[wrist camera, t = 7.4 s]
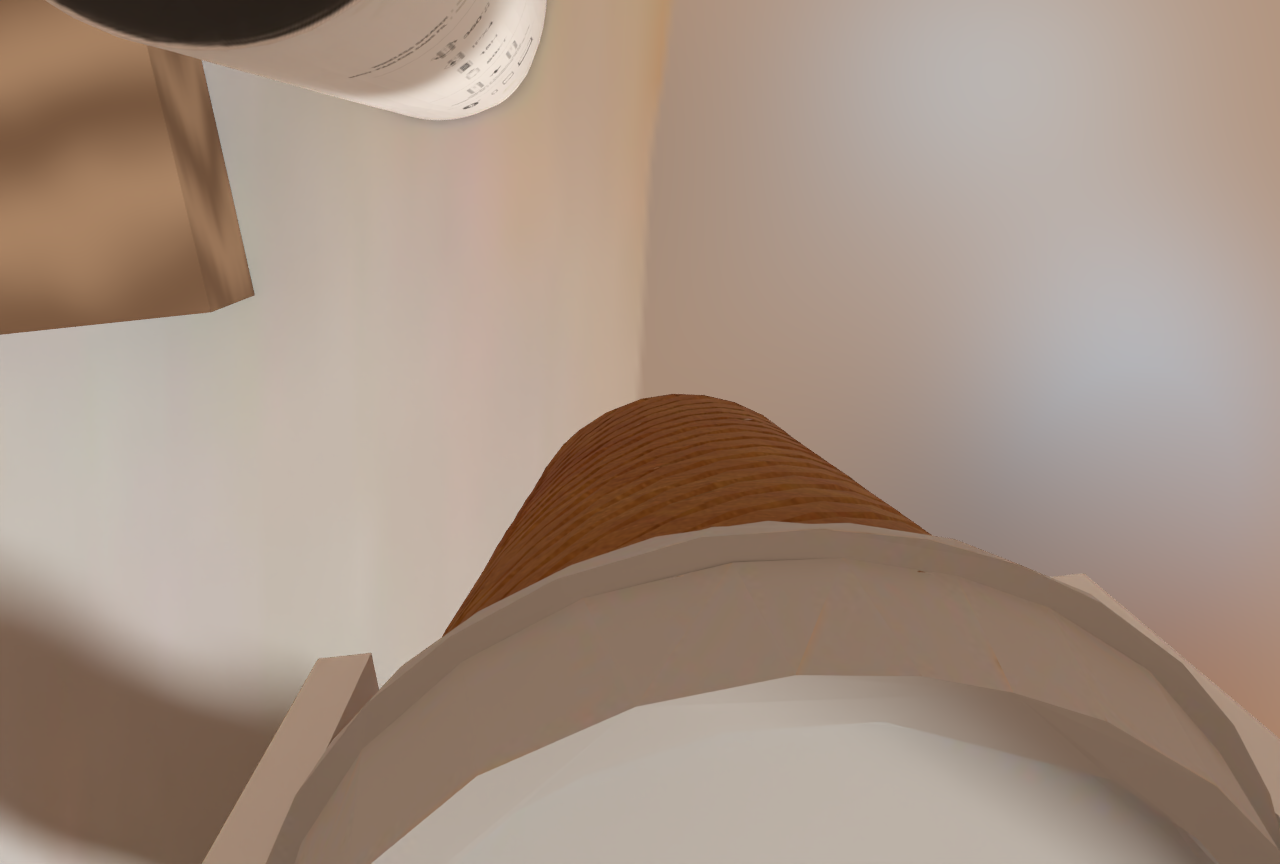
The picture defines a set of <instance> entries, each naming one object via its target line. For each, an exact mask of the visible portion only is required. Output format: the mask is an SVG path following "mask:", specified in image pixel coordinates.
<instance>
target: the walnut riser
mask: <svg viewBox="0 0 1280 864" xmlns="http://www.w3.org/2000/svg"><path fill="white" fill-rule="evenodd" d="M251 296H254V290H253V286H252V282H251V277H250V273H249V268H248V264H247V259H246V255H245V251H244V246H243V242H242V237H241V233H240V229H239V224H238V220H237V215H236V211H235V206H234V202H233V198H232V193H231V189H230V184H229V180H228V175H227V171H226V167H225V162H224V158H223V153H222V149H221V145H220V140H219V136H218V131H217V127H216V122H215V118H214V114H213V109H212V105H211V100H210V96H209V92H208V87H207V83H206V78H205V74H204V69H203V65H202V61H201V59H197V58H193V57H190V56H186V55H183V54H179V53H176V52H172V51H168V50H164V49H161V48H157V47H153V46H149V45H145V44H141V43H137V42H133V41H129V40H126V39H122V38H119V37H116V36H113V35H111V34H109V33H107V32H105V31H102V30H100V29H98V28H95V27H93V26H91V25H88V24H86V23H84V22H81V21H79V20H77V19H74V18H72V17H71V16H69V15H67V14H66V13H64V12H63V11H61V10H59V9H58V8H56V7H54V6H53V5H51V4H50V3H48V2H47V1H45V0H0V335H1V334H10V333H19V332H29V331H38V330H48V329H57V328H66V327H76V326H85V325H94V324H104V323H113V322H123V321H132V320H141V319H151V318H160V317H170V316H179V315H188V314H198V313H207V312H213V311H215V310H218V309H220V308H223V307H225V306H228V305H231V304H233V303H236V302H238V301H241V300H243V299H246V298H248V297H251Z"/></svg>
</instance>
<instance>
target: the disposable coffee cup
mask: <svg viewBox="0 0 1280 864" xmlns="http://www.w3.org/2000/svg"><path fill="white" fill-rule="evenodd" d="M266 864H1280V831H1279V827H1278V823H1277V819H1276V815H1275V811H1274V807H1273V803H1272V800H1271V796H1270V793H1269V791H1268V789H1267V787H1266V785H1265V783H1264V782H1263V780H1262V778H1261V776H1260V774H1259V772H1258V770H1257V768H1256V766H1255V764H1254V762H1253V760H1252V759H1251V757H1250V755H1249V753H1248V751H1247V749H1246V747H1245V745H1244V743H1243V741H1242V739H1241V737H1240V736H1239V734H1238V732H1237V730H1236V728H1235V726H1234V724H1233V723H1232V722H1231V721H1230V720H1229V718H1228V717H1227V716H1226V715H1225V714H1224V712H1223V711H1222V710H1221V709H1220V708H1219V706H1218V705H1217V704H1216V703H1215V702H1214V700H1213V699H1212V698H1211V697H1210V696H1209V694H1208V693H1207V692H1206V691H1205V690H1204V688H1203V687H1202V686H1201V685H1200V684H1199V682H1198V681H1197V680H1196V679H1195V678H1194V676H1193V675H1192V674H1191V673H1190V672H1189V670H1188V669H1187V668H1186V667H1185V666H1184V664H1183V663H1181V662H1180V661H1179V660H1177V659H1176V658H1175V657H1173V656H1172V655H1171V654H1169V653H1168V652H1167V651H1166V650H1164V649H1163V648H1162V647H1160V646H1159V645H1158V644H1156V643H1155V642H1154V641H1152V640H1151V639H1150V638H1148V637H1147V636H1146V635H1144V634H1143V633H1142V632H1140V631H1139V630H1138V629H1136V628H1135V627H1134V626H1132V625H1131V624H1130V623H1128V622H1127V621H1126V620H1124V619H1123V618H1122V617H1120V616H1119V615H1118V614H1116V613H1115V612H1114V611H1112V610H1111V609H1110V608H1108V607H1107V606H1106V605H1104V604H1103V603H1102V602H1101V601H1099V600H1098V599H1097V598H1095V597H1094V596H1093V595H1091V594H1090V593H1087V592H1085V591H1082V590H1080V589H1078V588H1075V587H1073V586H1070V585H1068V584H1065V583H1063V582H1061V581H1058V580H1056V579H1053V578H1051V577H1048V576H1046V575H1043V574H1041V573H1039V572H1036V571H1033V570H1031V569H1029V568H1027V567H1024V566H1022V565H1019V564H1017V563H1014V562H1012V561H1009V560H1006V559H1004V558H1001V557H999V556H996V555H994V554H991V553H989V552H986V551H984V550H981V549H979V548H976V547H973V546H971V545H968V544H966V543H963V542H961V541H958V540H956V539H951V538H944V537H937V536H932V535H931V534H929V533H928V532H926V531H925V530H924V529H922V528H921V527H920V526H918V525H917V524H915V523H914V522H912V521H911V520H910V519H908V518H907V517H905V516H903V515H902V514H901V513H900V512H898V511H897V510H896V509H894V508H893V507H891V506H890V505H888V504H887V503H885V502H884V501H882V500H881V499H879V498H878V497H876V496H875V495H874V494H872V493H870V492H869V491H868V490H866V489H865V488H863V487H862V486H861V485H859V484H858V483H857V482H855V481H854V480H853V479H852V478H850V477H849V476H847V475H846V474H845V473H843V472H841V471H840V470H839V469H837V468H836V467H834V466H833V465H831V464H829V463H828V462H827V461H825V460H824V459H822V458H821V457H820V456H818V455H817V454H815V453H814V452H812V451H811V450H809V449H808V448H806V447H805V446H804V445H802V444H801V443H800V442H798V441H797V440H795V439H794V438H792V437H791V436H790V435H788V434H787V433H786V432H785V431H784V430H782V429H781V428H779V427H778V426H777V425H775V424H774V423H773V422H771V421H769V419H767V418H766V417H764V416H763V415H761V414H759V413H757V412H755V411H753V410H750V409H748V408H746V407H744V406H741V405H739V404H737V403H735V402H731V401H727V400H723V399H718V398H714V397H709V396H705V395H685V394H670V395H663V396H657V397H651V398H644V399H640V400H637V401H635V402H632V403H630V404H627V405H625V406H622V407H619V408H617V409H614V410H612V411H609V412H607V413H605V414H604V415H602V416H600V417H599V418H597V419H596V420H594V421H593V422H591V423H590V424H588V425H587V426H585V427H583V428H582V429H580V430H579V431H578V432H577V433H576V434H575V435H573V436H572V437H571V438H570V439H569V440H568V441H567V442H566V443H565V444H564V445H563V446H562V447H561V449H560V450H559V451H558V452H557V454H556V455H555V456H554V458H553V459H552V460H551V462H550V463H549V464H548V466H547V467H546V468H545V470H544V472H543V474H542V476H541V478H540V479H539V481H538V482H537V484H536V486H535V488H534V489H533V491H532V492H531V494H530V495H529V497H528V498H527V499H526V501H525V503H524V504H523V506H522V508H521V509H520V511H519V512H518V514H517V516H516V518H515V519H514V521H513V523H512V524H511V526H510V527H509V528H508V530H507V531H506V533H505V535H504V536H503V538H502V540H501V541H500V543H499V544H498V546H497V547H496V549H495V551H494V553H493V555H492V557H491V558H490V560H489V562H488V564H487V566H486V567H485V569H484V571H483V572H482V574H481V575H480V577H479V579H478V580H477V582H476V583H475V585H474V587H473V588H472V590H471V591H470V593H469V595H468V596H467V598H466V599H465V601H464V602H463V604H462V605H461V607H460V609H459V610H458V612H457V613H456V615H455V616H454V618H453V620H452V621H451V623H450V624H449V626H448V627H447V629H446V631H445V633H444V634H443V636H442V638H440V639H439V640H438V641H436V642H435V643H433V644H432V645H431V646H429V647H428V648H426V649H425V650H424V651H422V652H421V653H419V654H418V655H417V656H415V657H414V658H412V659H411V660H410V661H408V662H407V663H405V664H404V665H403V666H401V667H400V668H399V669H398V670H397V672H396V673H395V674H394V675H393V676H392V677H391V678H390V679H389V680H388V681H387V682H386V683H385V684H384V685H383V686H382V688H381V689H380V690H379V691H378V692H377V693H376V694H375V695H374V696H373V697H372V698H371V699H370V700H369V701H368V702H367V703H366V705H365V706H364V707H363V708H362V709H361V710H360V711H359V712H358V713H357V714H356V715H355V716H354V717H353V719H352V720H351V721H350V722H349V723H348V724H347V725H346V726H345V727H344V728H343V729H342V730H341V731H340V733H339V734H338V735H337V736H336V737H335V738H334V739H333V740H332V742H331V743H330V745H329V746H328V748H327V749H326V751H325V752H324V754H323V755H322V757H321V758H320V760H319V761H318V763H317V764H316V766H315V767H314V768H313V770H312V771H311V773H310V774H309V776H308V777H307V779H306V780H305V782H304V783H303V785H302V786H301V788H300V789H299V791H298V792H297V794H296V795H295V797H294V799H293V802H292V804H291V806H290V809H289V811H288V813H287V816H286V818H285V820H284V822H283V825H282V827H281V829H280V832H279V834H278V836H277V839H276V841H275V843H274V845H273V848H272V850H271V852H270V855H269V857H268V859H267V862H266Z"/></svg>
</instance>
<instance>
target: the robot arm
mask: <svg viewBox="0 0 1280 864" xmlns="http://www.w3.org/2000/svg"><path fill="white" fill-rule="evenodd" d="M1051 578H1053V579H1056V580H1058V581H1061V582H1063V583H1065V584H1068V585H1070V586H1073V587H1075V588H1078V589H1080V590H1082V591H1085V592H1087V593H1090V594H1091V595H1093V596H1094V597H1095V598H1097V599H1098V600H1099V601H1101V602H1102V603H1103V604H1104V605H1106V606H1107V607H1108V608H1110V609H1111V610H1112V611H1114V612H1115V613H1116V614H1118V615H1119V616H1120V617H1122V618H1123V619H1124V620H1126V621H1127V622H1128V623H1130V624H1131V625H1132V626H1134V627H1135V628H1136V629H1138V630H1139V631H1140V632H1142V633H1143V634H1144V635H1146V636H1147V637H1148V638H1150V639H1151V640H1152V641H1154V642H1155V643H1156V644H1158V645H1159V646H1160V647H1162V648H1163V649H1164V650H1166V651H1167V652H1168V653H1169V654H1171V655H1172V656H1173V657H1175V658H1176V659H1177V660H1179V661H1180V662H1181V663H1183V664H1184V666H1185V667H1186V668H1187V669H1188V670H1189V672H1190V673H1191V674H1192V675H1193V676H1194V678H1195V679H1196V680H1197V681H1198V682H1199V684H1200V685H1201V686H1202V687H1203V688H1204V690H1205V691H1206V692H1207V693H1208V694H1209V696H1210V697H1211V698H1212V699H1213V700H1214V702H1215V703H1216V704H1217V705H1218V706H1219V708H1220V709H1221V710H1222V711H1223V712H1224V714H1225V715H1226V716H1227V717H1228V718H1229V720H1230V721H1231V722H1232V723H1233V724H1234V726H1235V728H1236V730H1237V732H1238V734H1239V736H1240V737H1241V739H1242V741H1243V743H1244V745H1245V747H1246V749H1247V751H1248V753H1249V755H1250V757H1251V759H1252V760H1253V762H1254V764H1255V766H1256V768H1257V770H1258V772H1259V774H1260V776H1261V778H1262V780H1263V782H1264V783H1265V785H1266V787H1267V789H1268V791H1269V793H1270V796H1271V800H1272V803H1273V807H1274V811H1275V815H1276V819H1277V823H1278V827H1279V831H1280V739H1279V738H1278V737H1277V736H1276V735H1275V734H1274V733H1272V732H1271V731H1270V730H1269V729H1268V728H1266V727H1265V726H1264V725H1263V724H1262V723H1260V722H1259V721H1258V720H1257V719H1256V718H1255V717H1253V716H1252V715H1251V714H1250V713H1249V712H1247V711H1246V710H1245V709H1244V708H1243V707H1241V706H1240V705H1239V704H1238V703H1237V702H1236V701H1234V700H1233V699H1232V698H1231V697H1230V696H1228V695H1227V694H1226V693H1225V692H1224V691H1222V690H1221V689H1220V688H1219V687H1218V686H1217V685H1216V684H1214V683H1213V682H1212V681H1211V680H1210V679H1208V678H1207V677H1206V676H1205V675H1204V674H1202V673H1201V672H1200V671H1199V670H1198V669H1197V668H1195V667H1194V666H1193V665H1192V664H1190V663H1189V662H1188V661H1187V660H1186V659H1185V658H1184V657H1182V656H1181V655H1180V654H1179V653H1178V652H1176V651H1175V650H1174V649H1173V648H1172V647H1170V646H1169V645H1168V644H1167V643H1166V642H1165V641H1163V640H1162V639H1161V638H1160V637H1159V636H1158V635H1156V634H1155V633H1154V632H1153V631H1151V630H1150V629H1149V628H1148V627H1147V626H1146V625H1144V624H1143V623H1142V622H1141V621H1140V620H1139V619H1137V618H1136V617H1135V616H1134V615H1132V614H1131V613H1130V612H1129V611H1128V610H1127V609H1125V608H1124V607H1123V606H1122V605H1121V604H1119V603H1118V602H1117V601H1116V600H1115V599H1114V598H1113V597H1111V596H1110V595H1109V594H1108V593H1107V592H1105V591H1104V590H1103V589H1102V588H1101V587H1099V586H1098V585H1097V584H1096V583H1095V582H1094V581H1092V580H1091V579H1090V578H1089V577H1088V576H1086V575H1085V574H1084V573H1082V574H1073V575H1063V576H1055V577H1051ZM378 691H379V688H378V683H377V678H376V674H375V669H374V664H373V659H372V655H371V653H366V654H357V655H348V656H339V657H330V658H321V659H318V660H317V662H316V663H315V665H314V667H313V669H312V670H311V672H310V674H309V676H308V678H307V679H306V681H305V683H304V685H303V686H302V688H301V690H300V692H299V693H298V695H297V697H296V699H295V700H294V702H293V704H292V706H291V707H290V709H289V711H288V713H287V715H286V716H285V718H284V720H283V722H282V723H281V725H280V727H279V729H278V730H277V732H276V734H275V736H274V737H273V739H272V741H271V743H270V744H269V746H268V748H267V750H266V751H265V753H264V755H263V757H262V759H261V760H260V762H259V764H258V766H257V767H256V769H255V771H254V773H253V774H252V776H251V778H250V780H249V781H248V783H247V785H246V787H245V788H244V790H243V792H242V794H241V796H240V797H239V799H238V801H237V803H236V804H235V806H234V808H233V810H232V811H231V813H230V815H229V817H228V818H227V820H226V822H225V824H224V825H223V827H222V829H221V831H220V833H219V834H218V836H217V838H216V840H215V841H214V843H213V845H212V847H211V848H210V850H209V852H208V854H207V855H206V857H205V859H204V861H203V862H202V864H266V862H267V859H268V857H269V855H270V852H271V850H272V848H273V845H274V843H275V841H276V839H277V836H278V834H279V832H280V829H281V827H282V825H283V822H284V820H285V818H286V816H287V813H288V811H289V809H290V806H291V804H292V802H293V799H294V797H295V795H296V794H297V792H298V791H299V789H300V788H301V786H302V785H303V783H304V782H305V780H306V779H307V777H308V776H309V774H310V773H311V771H312V770H313V768H314V767H315V766H316V764H317V763H318V761H319V760H320V758H321V757H322V755H323V754H324V752H325V751H326V749H327V748H328V746H329V745H330V743H331V742H332V740H333V739H334V738H335V737H336V736H337V735H338V734H339V733H340V731H341V730H342V729H343V728H344V727H345V726H346V725H347V724H348V723H349V722H350V721H351V720H352V719H353V717H354V716H355V715H356V714H357V713H358V712H359V711H360V710H361V709H362V708H363V707H364V706H365V705H366V703H367V702H368V701H369V700H370V699H371V698H372V697H373V696H374V695H375V694H376V693H377V692H378Z"/></svg>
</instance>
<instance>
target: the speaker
mask: <svg viewBox="0 0 1280 864" xmlns="http://www.w3.org/2000/svg"><path fill="white" fill-rule="evenodd" d="M45 1H47V2H48V3H50V4H51V5H53V6H54V7H56V8H58V9H59V10H61V11H63V12H64V13H66V14H67V15H69V16H71V17H72V18H74V19H77V20H79V21H81V22H84V23H86V24H88V25H91V26H93V27H95V28H98V29H100V30H102V31H105V32H107V33H109V34H111V35H113V36H116V37H119V38H122V39H126V40H129V41H133V42H137V43H141V44H145V45H149V46H153V47H157V48H161V49H164V50H168V51H172V52H176V53H179V54H183V55H186V56H190V57H193V58H197V59H201V60H204V61H208V62H212V63H215V64H219V65H222V66H226V67H230V68H233V69H237V70H240V71H244V72H248V73H251V74H255V75H258V76H262V77H266V78H269V79H273V80H276V81H280V82H284V83H287V84H291V85H294V86H298V87H302V88H305V89H309V90H312V91H316V92H320V93H323V94H327V95H331V96H334V97H338V98H342V99H346V100H349V101H353V102H357V103H361V104H364V105H368V106H372V107H376V108H380V109H384V110H388V111H392V112H395V113H399V114H403V115H407V116H410V117H415V118H421V119H426V120H450V119H457V118H463V117H467V116H471V115H474V114H477V113H479V112H482V111H484V110H486V109H489V108H491V107H494V106H496V105H498V104H500V103H502V102H503V101H504V100H505V99H507V98H508V97H509V96H510V95H511V94H512V93H513V92H514V91H515V90H516V89H517V88H518V86H519V85H520V84H521V82H522V81H523V79H524V78H525V76H526V75H527V73H528V71H529V68H530V66H531V64H532V61H533V59H534V56H535V53H536V50H537V48H538V45H539V42H540V38H541V34H542V30H543V26H544V20H545V13H546V3H547V0H45Z"/></svg>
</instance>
